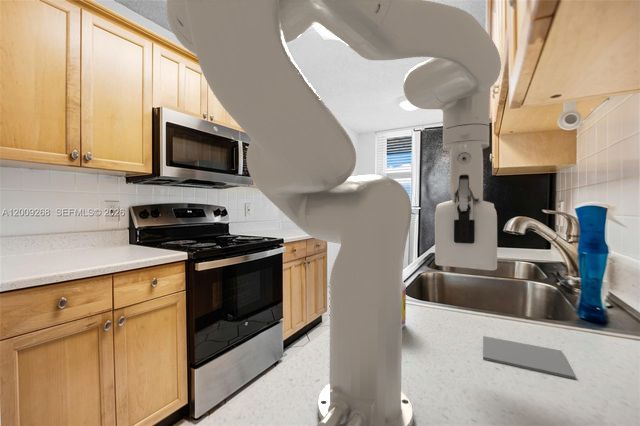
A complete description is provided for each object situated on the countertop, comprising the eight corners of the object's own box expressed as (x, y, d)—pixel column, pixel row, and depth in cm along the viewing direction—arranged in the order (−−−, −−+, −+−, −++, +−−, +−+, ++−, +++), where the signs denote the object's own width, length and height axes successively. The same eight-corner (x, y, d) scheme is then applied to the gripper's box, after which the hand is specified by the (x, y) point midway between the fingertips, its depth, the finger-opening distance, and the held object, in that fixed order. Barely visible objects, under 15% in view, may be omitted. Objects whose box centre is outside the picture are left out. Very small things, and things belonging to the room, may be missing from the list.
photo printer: (431, 265, 56) (432, 199, 55) (437, 262, 59) (438, 199, 59) (495, 272, 50) (496, 198, 49) (498, 268, 53) (498, 198, 53)
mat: (575, 379, 48) (575, 376, 48) (483, 359, 54) (483, 356, 54) (561, 352, 57) (561, 350, 57) (483, 337, 63) (483, 335, 63)
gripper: (491, 126, 45) (490, 249, 45) (487, 145, 60) (486, 237, 60) (437, 132, 48) (437, 246, 49) (446, 149, 63) (446, 235, 64)
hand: (464, 240), depth 54 cm, fingers closed on photo printer, 4 cm apart
